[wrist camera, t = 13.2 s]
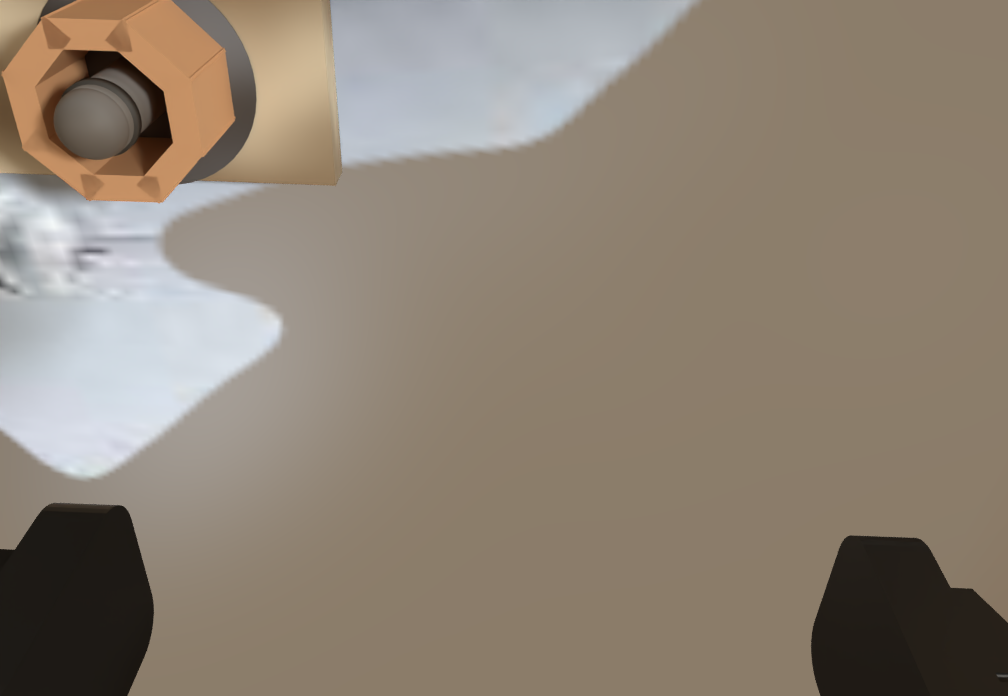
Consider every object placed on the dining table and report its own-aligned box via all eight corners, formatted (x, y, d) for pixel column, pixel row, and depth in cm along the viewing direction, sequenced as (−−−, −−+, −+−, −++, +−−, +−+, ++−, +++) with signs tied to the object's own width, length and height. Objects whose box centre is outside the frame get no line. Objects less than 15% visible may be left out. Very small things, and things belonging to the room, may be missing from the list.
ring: (40, -10, 32) (-17, 13, 28) (218, -5, 32) (182, 20, 28) (82, 160, 35) (36, 199, 32) (242, 165, 35) (213, 205, 32)
